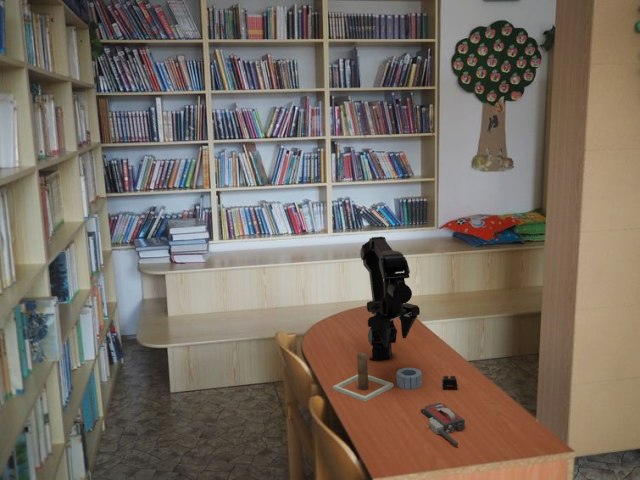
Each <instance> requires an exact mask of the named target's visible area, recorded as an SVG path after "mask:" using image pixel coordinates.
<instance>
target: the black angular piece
mask: <svg viewBox="0 0 640 480" xmlns="http://www.w3.org/2000/svg"><path fill="white" fill-rule="evenodd" d="M441 383H442V384H441V386H442V390H443V391H445V390H446V391H447V388H444V387H449V386H450V387H452V388H453V389H452V390H453V391H454V390H455V391H458V386H459V385H458V379H457V378H456V376H455V375H442V379H441ZM454 387H455V388H454Z"/></svg>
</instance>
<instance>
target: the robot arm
mask: <svg viewBox="0 0 640 480" xmlns="http://www.w3.org/2000/svg"><path fill="white" fill-rule="evenodd" d="M360 258H361V259H360V260H361V261H362V264H363V266H364V268H365V269H366V270H367V271H368V274H369V284H370V291H371V292H370V293H371V299H372V300H371V301H370V300H369V301H367V302H366V310H367V312H368V313H371V314H372V315H373V316H370V317H368V319H367V327H369V330H368V333H367V341H368V343H369V344H370V346H371V347H372V349H371V354H372V355H371V356H370V357H369V360H370V361H373V362H383V361H387V360H390V359H392V355H393V352H392V349H393V347H392V344H396V341H397V334H398V329H397V328H396V325H395V323H394V320H396V319H399V320H400V327H401V329H400V330H401V336H402V338H403V339H404V340H405V339H406V338H407V337H408V335H409V332H410V331H411V328H412V326H413V325H414V323H415V322H416V319H417V318H418V316H419V315H421V314H420V312H421V311H420V310H421V309H420V307H419V305H417V304H413V303H408V302H409V301H410V300H411V299H412V296H413V291H412V289H411V288H410V286H408V284H407V283H406V280H405V279H410V274H411V270H410V267H409V264H408V260H407V258H406V256H404V255H403V253H402V252H400V251H397V250H393V248H392V247H391V246H390V244H389V243H388V241H387V240H386V237H385V236H374V237H371V238H369V240H368V241H367V242H365V243H364V244H363V245H362V246H361V249H360Z"/></svg>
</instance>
